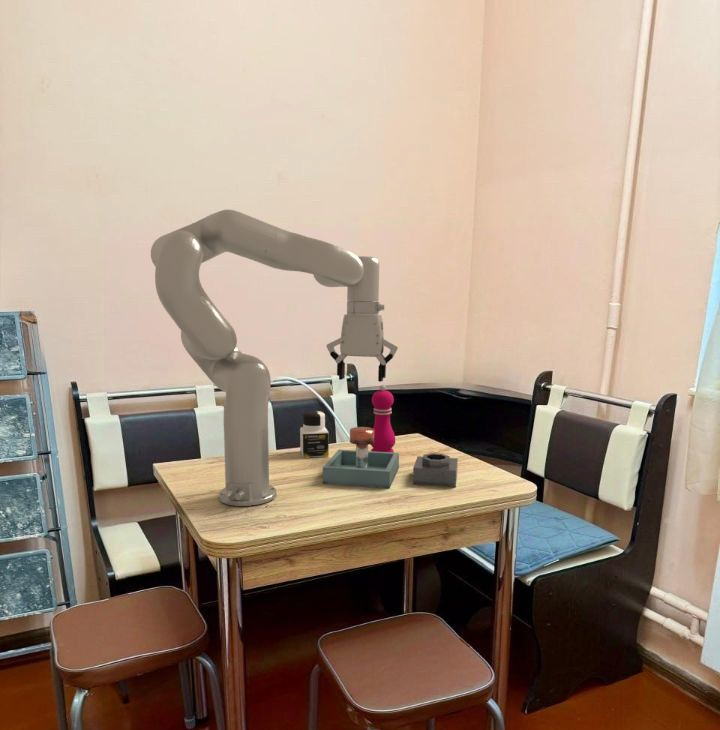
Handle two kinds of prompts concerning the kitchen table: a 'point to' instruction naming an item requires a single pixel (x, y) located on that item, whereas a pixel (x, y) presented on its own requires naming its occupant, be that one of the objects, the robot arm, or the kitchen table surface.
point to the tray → (361, 469)
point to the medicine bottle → (314, 435)
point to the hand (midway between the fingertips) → (361, 379)
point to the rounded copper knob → (362, 444)
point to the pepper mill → (383, 421)
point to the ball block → (435, 470)
